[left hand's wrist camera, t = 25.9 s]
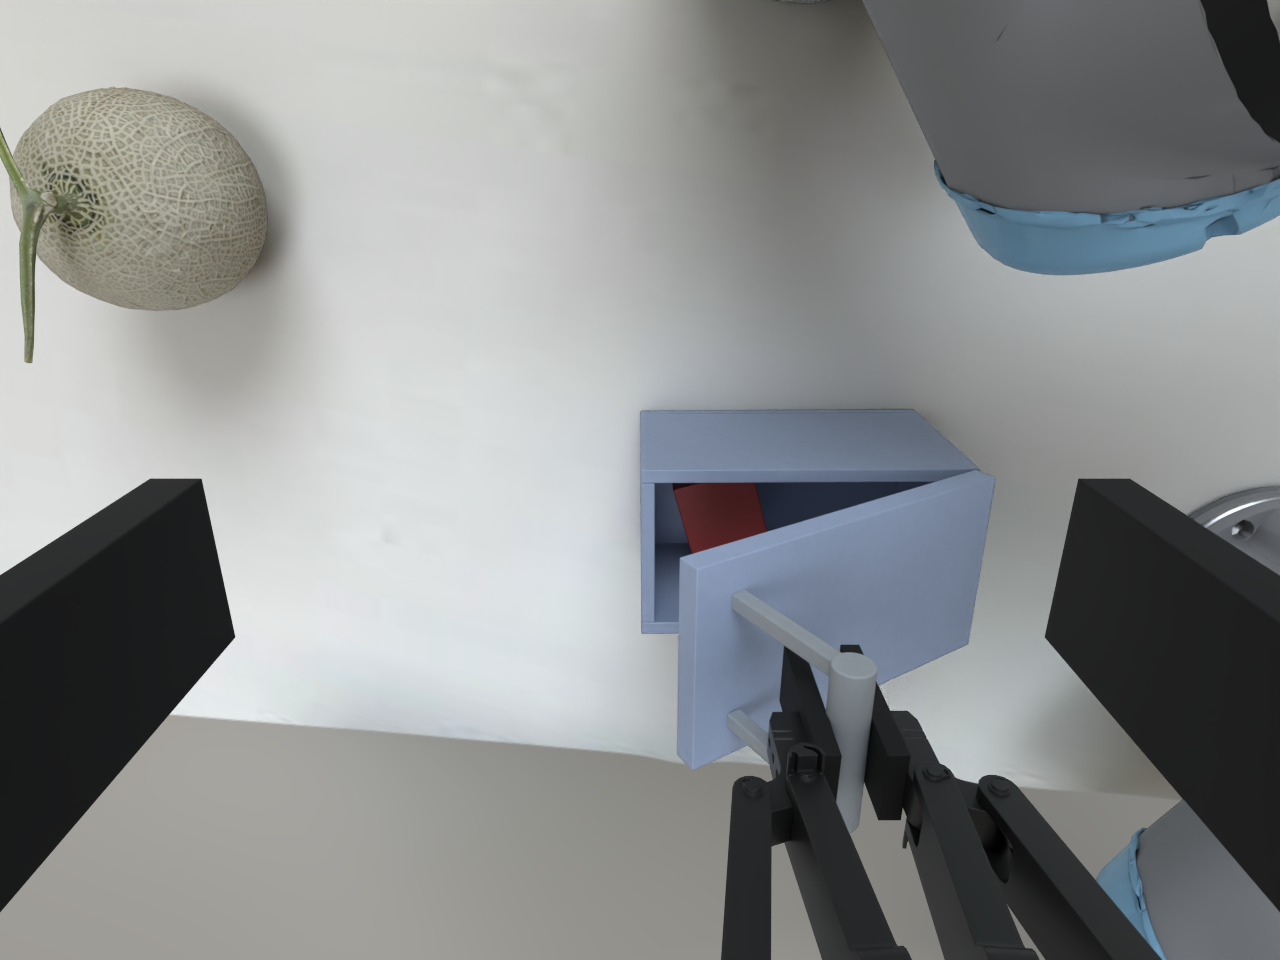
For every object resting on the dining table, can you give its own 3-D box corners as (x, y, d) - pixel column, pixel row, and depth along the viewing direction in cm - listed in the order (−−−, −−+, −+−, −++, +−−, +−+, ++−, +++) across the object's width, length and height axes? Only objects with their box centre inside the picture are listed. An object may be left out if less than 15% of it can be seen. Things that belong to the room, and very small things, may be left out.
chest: (641, 548, 55) (641, 634, 44) (640, 410, 51) (640, 470, 41) (896, 546, 54) (954, 632, 44) (913, 409, 51) (980, 468, 41)
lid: (676, 754, 35) (807, 887, 29) (679, 557, 32) (829, 657, 25) (949, 634, 44) (1096, 715, 38) (975, 469, 41) (1142, 527, 34)
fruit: (198, 41, 43) (-12, -17, 29) (336, 231, 47) (207, 260, 33) (59, 152, 45) (-199, 147, 31) (202, 326, 49) (27, 391, 35)
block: (688, 526, 53) (693, 559, 49) (670, 462, 51) (672, 489, 47) (758, 508, 53) (769, 540, 48) (742, 442, 51) (751, 469, 47)
